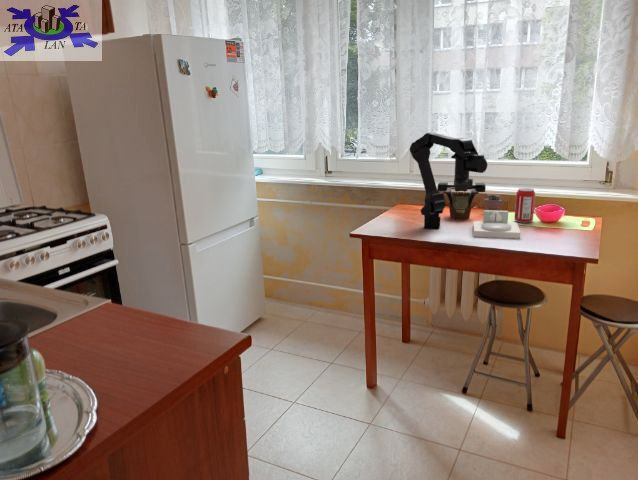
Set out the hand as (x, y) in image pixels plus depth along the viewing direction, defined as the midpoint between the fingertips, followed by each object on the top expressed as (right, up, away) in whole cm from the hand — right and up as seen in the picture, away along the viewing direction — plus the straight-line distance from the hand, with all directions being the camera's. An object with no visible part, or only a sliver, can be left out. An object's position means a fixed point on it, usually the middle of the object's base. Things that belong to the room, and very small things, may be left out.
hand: (460, 207), depth 202 cm
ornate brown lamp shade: (0, -2, +1) cm, 2 cm away
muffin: (+9, -3, +31) cm, 32 cm away
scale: (+17, -10, +6) cm, 20 cm away
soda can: (+35, -5, +20) cm, 41 cm away
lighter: (+25, -1, +34) cm, 43 cm away
